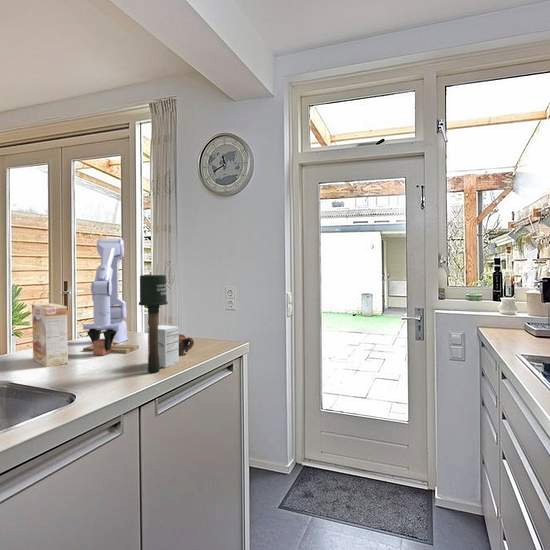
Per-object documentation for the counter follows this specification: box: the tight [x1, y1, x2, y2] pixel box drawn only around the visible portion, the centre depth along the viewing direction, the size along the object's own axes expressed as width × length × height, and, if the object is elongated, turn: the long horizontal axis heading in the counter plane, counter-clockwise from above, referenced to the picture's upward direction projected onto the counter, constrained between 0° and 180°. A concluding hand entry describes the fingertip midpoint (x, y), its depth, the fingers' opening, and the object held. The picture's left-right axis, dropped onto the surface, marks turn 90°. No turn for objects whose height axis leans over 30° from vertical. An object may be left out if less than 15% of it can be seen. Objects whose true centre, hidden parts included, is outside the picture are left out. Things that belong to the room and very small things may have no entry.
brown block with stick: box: [92, 338, 117, 356], centre depth 155 cm, size 11×4×5 cm, turn 170°
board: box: [82, 343, 140, 354], centre depth 160 cm, size 9×18×1 cm, turn 80°
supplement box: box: [147, 324, 180, 369], centre depth 137 cm, size 7×7×13 cm
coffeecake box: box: [31, 302, 69, 368], centre depth 141 cm, size 15×7×20 cm, turn 45°
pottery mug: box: [179, 333, 195, 356], centre depth 154 cm, size 12×10×8 cm
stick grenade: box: [138, 274, 168, 374], centre depth 128 cm, size 8×9×30 cm
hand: (102, 349), depth 152 cm, fingers closed on brown block with stick, 4 cm apart
